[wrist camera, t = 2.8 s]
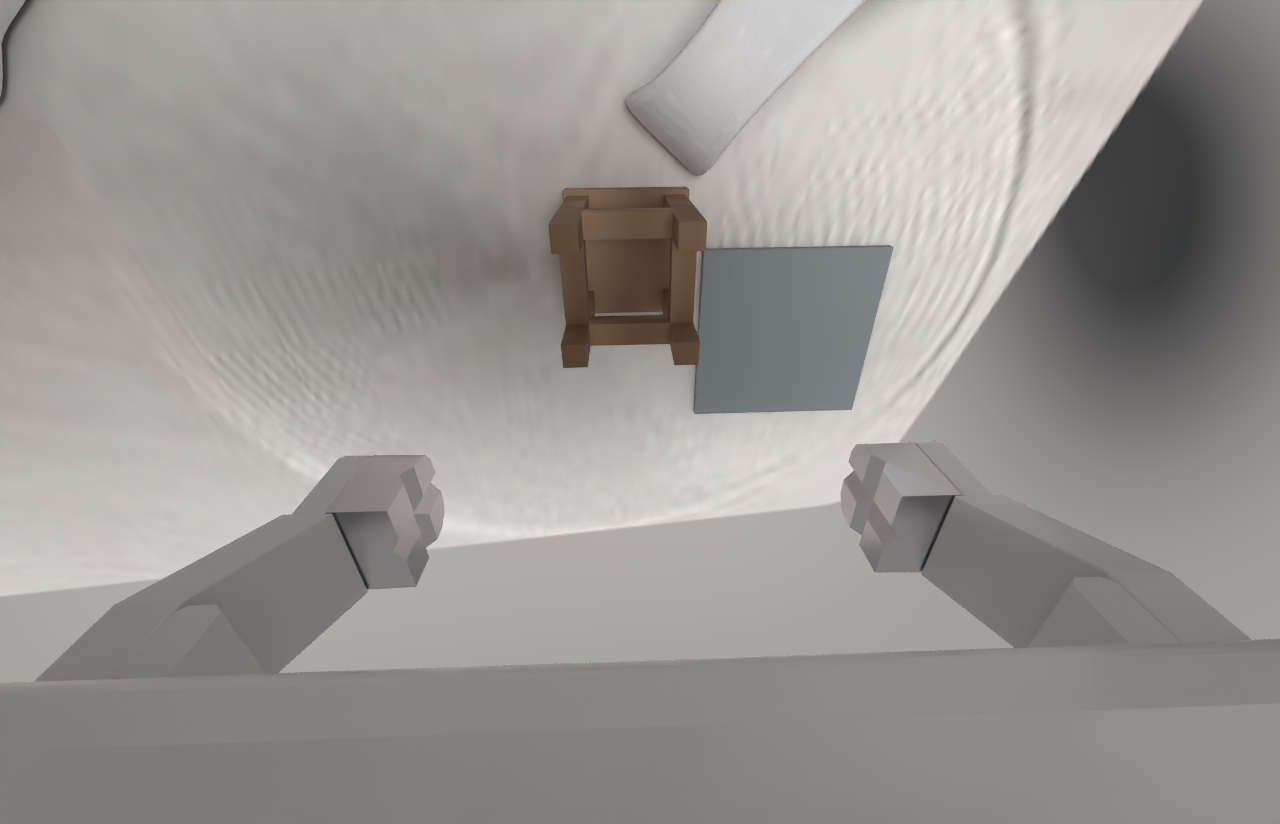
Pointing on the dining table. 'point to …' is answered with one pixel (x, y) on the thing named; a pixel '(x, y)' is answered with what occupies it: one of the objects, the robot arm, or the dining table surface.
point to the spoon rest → (732, 72)
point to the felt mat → (785, 326)
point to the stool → (628, 268)
